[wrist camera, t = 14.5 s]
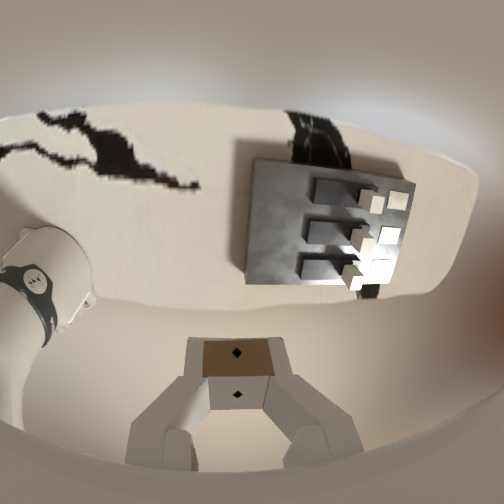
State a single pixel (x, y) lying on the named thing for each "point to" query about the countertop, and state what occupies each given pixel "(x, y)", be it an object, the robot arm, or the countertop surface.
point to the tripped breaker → (371, 201)
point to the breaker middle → (362, 241)
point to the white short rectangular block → (352, 277)
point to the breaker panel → (320, 223)
